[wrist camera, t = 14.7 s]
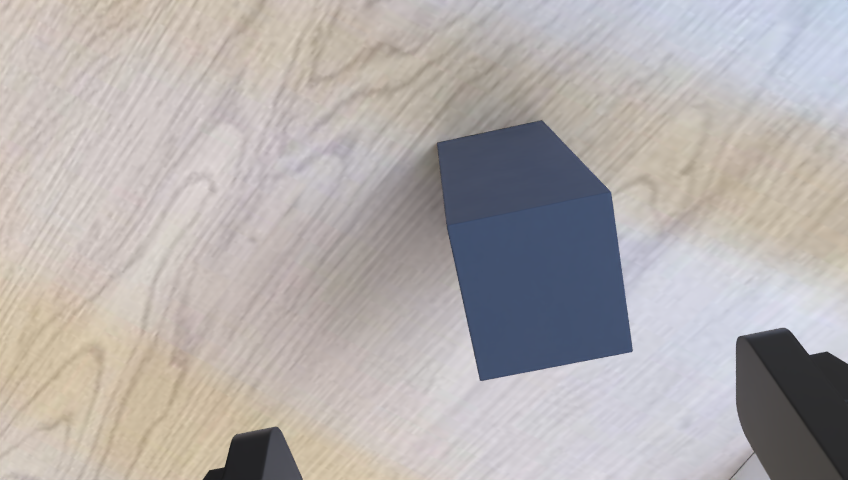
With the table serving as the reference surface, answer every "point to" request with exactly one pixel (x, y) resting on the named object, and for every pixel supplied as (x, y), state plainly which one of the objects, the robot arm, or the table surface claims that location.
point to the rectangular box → (532, 251)
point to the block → (751, 470)
